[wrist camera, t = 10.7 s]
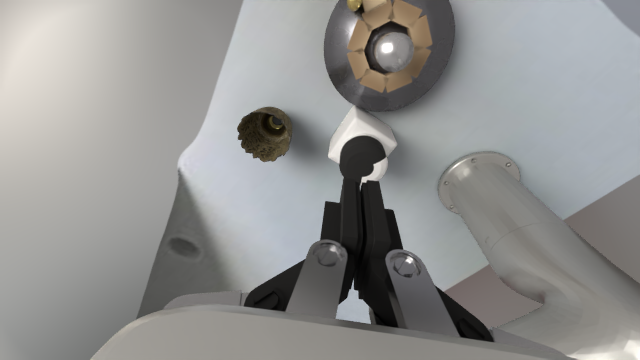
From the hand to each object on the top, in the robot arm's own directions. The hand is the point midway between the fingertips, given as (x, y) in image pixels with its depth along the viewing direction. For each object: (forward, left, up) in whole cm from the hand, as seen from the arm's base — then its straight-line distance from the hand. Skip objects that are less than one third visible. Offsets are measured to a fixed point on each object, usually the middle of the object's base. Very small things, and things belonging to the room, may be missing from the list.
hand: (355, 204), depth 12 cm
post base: (+3, -6, -29) cm, 30 cm away
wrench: (+6, -6, -26) cm, 27 cm away
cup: (0, +13, -29) cm, 32 cm away
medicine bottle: (-7, +1, -29) cm, 30 cm away
